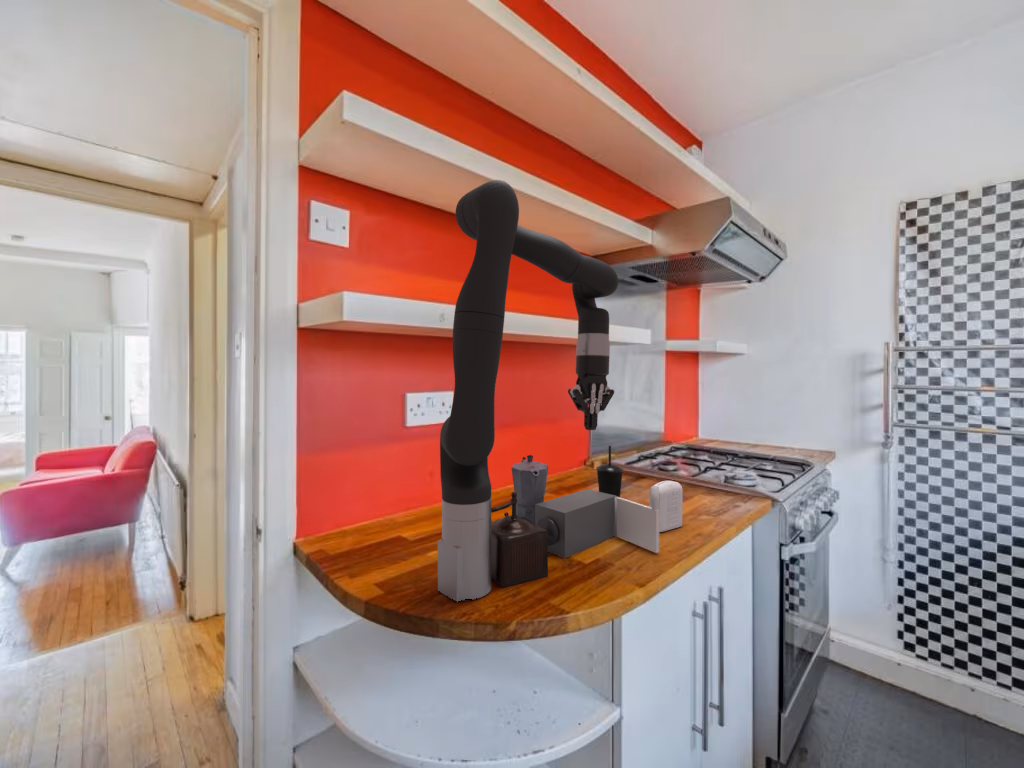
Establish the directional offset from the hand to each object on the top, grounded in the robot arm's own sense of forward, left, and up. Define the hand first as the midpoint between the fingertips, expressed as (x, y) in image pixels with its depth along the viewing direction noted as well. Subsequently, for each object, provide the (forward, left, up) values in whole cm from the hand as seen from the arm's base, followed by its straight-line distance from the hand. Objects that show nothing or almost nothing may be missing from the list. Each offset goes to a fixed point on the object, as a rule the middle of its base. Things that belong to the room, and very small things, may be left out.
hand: (590, 429), depth 102 cm
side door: (+10, -6, -27) cm, 29 cm away
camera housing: (+2, +5, -28) cm, 28 cm away
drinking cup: (+24, +11, -28) cm, 38 cm away
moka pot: (-2, +18, -28) cm, 33 cm away
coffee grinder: (-23, +5, -28) cm, 37 cm away
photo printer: (+26, -5, -28) cm, 38 cm away
